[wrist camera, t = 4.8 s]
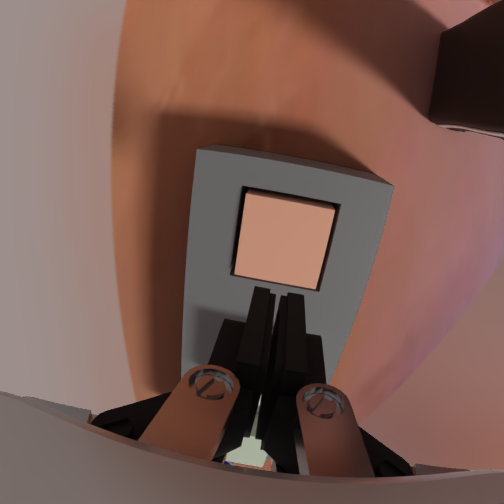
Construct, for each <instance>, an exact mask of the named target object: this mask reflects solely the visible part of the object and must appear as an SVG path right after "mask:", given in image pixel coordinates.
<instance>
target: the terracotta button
mask: <svg viewBox="0 0 504 504" xmlns="http://www.w3.org/2000/svg"><path fill="white" fill-rule="evenodd" d="M334 213H335V209H334V207H333V205H332V203H331V202H329V201H324V200H319V199H314V198H309V197H304V196H299V195H293V194H288V193H283V192H277V191H272V190H266V189H260V188H254V187H250V189H249V190H248V191H247V193H246V197H245V204H244V211H243V218H242V225H241V231H240V238H239V245H238V252H237V259H236V266H235V274H236V275H241V276H246V277H251V278H257V279H262V280H267V281H273V282H278V283H284V284H289V285H295V286H300V287H306V288H311V289H316V286H317V282H318V278H319V275H320V271H321V267H322V263H323V259H324V255H325V251H326V247H327V243H328V239H329V234H330V230H331V226H332V222H333V217H334Z"/></svg>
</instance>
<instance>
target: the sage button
mask: <svg viewBox="0 0 504 504" xmlns="http://www.w3.org/2000/svg"><path fill="white" fill-rule="evenodd" d="M257 421H258V414H256V416H255V420H254V424H253V427H252V431H251V435H250V438H247V437H243V441H242V445H241V447H239V448H237V449H235V450H233V451H231V452H229V453H227V457H226V460H225V461H230V462H235V463H241V464H247V465H253V466H259V467H263V464H264V462H265V459H266V457H267V453H266V452H265V451H264V450H260V448H261V440H258V439H255V435H256V428H257Z"/></svg>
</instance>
